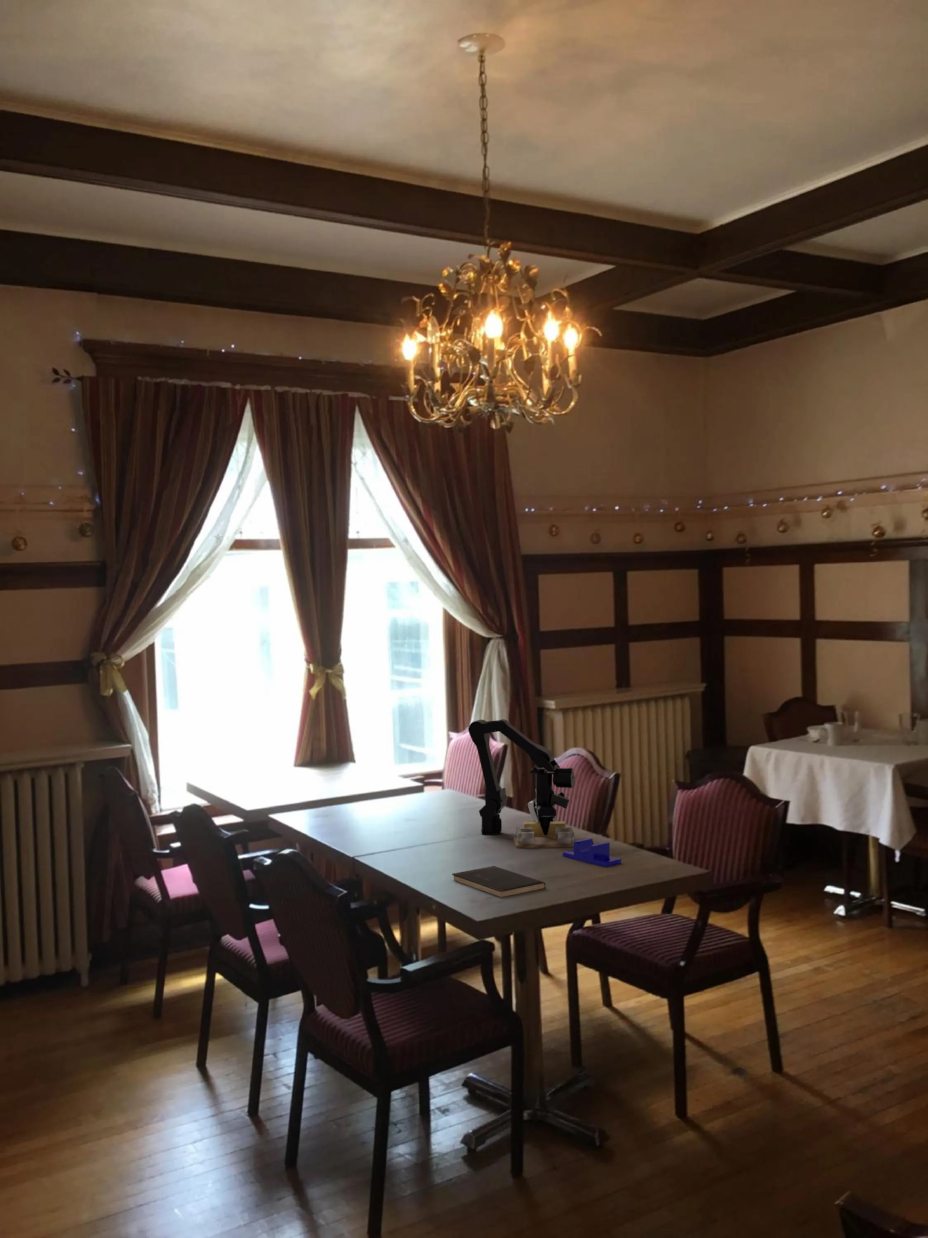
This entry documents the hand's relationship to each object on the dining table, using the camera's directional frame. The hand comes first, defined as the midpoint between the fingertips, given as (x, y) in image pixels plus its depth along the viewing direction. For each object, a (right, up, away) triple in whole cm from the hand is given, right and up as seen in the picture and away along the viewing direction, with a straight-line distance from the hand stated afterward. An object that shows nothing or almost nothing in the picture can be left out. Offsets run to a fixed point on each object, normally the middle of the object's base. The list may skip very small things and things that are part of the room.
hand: (544, 832), depth 372 cm
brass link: (0, -2, 0) cm, 2 cm away
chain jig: (-1, -2, -11) cm, 11 cm away
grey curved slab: (+1, -2, +21) cm, 21 cm away
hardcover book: (-18, -3, -62) cm, 64 cm away
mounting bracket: (+12, -3, -33) cm, 36 cm away
